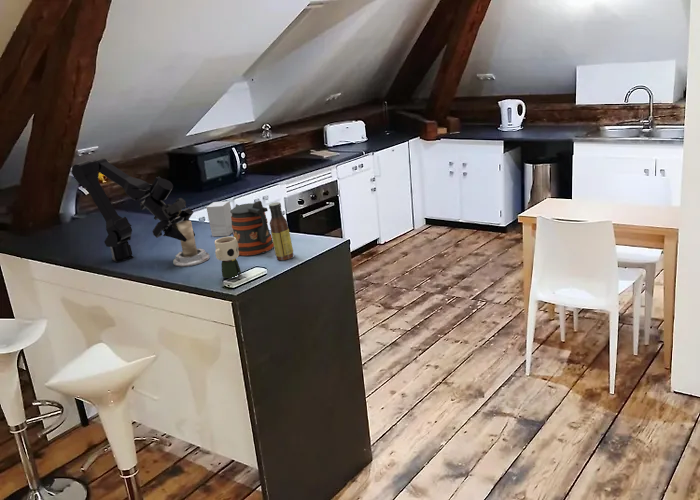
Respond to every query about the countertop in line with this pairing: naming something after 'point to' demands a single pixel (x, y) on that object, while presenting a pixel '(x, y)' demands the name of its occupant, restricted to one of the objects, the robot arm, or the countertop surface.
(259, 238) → the beer stein
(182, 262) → the socket ring
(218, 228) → the supplement box
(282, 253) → the sauce bottle
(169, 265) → the countertop surface
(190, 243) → the knob post
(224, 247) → the character mug
